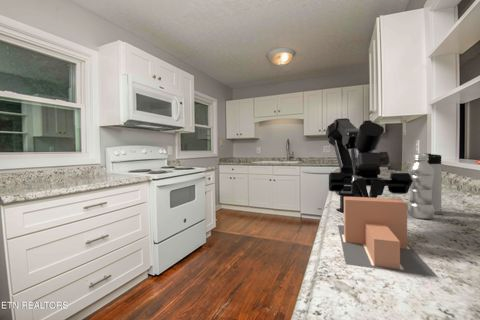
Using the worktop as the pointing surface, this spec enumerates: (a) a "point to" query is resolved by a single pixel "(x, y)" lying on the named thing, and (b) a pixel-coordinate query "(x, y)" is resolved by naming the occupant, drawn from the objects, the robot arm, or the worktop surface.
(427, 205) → the plastic bottle
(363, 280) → the worktop surface
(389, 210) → the t block
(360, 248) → the mat
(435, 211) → the travel mug
